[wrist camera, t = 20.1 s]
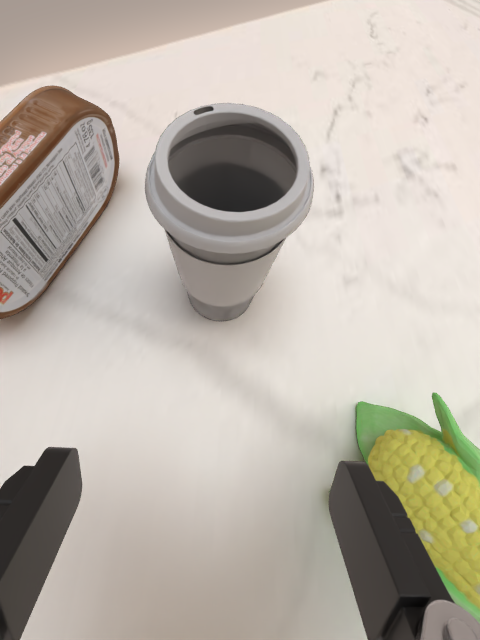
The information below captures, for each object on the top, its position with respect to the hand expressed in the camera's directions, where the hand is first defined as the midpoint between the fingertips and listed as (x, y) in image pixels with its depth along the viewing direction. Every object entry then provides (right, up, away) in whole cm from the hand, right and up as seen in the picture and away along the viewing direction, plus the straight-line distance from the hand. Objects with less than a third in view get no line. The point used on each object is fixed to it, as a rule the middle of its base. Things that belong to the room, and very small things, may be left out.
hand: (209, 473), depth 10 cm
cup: (-1, +7, +14) cm, 15 cm away
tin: (-12, +10, +14) cm, 21 cm away
